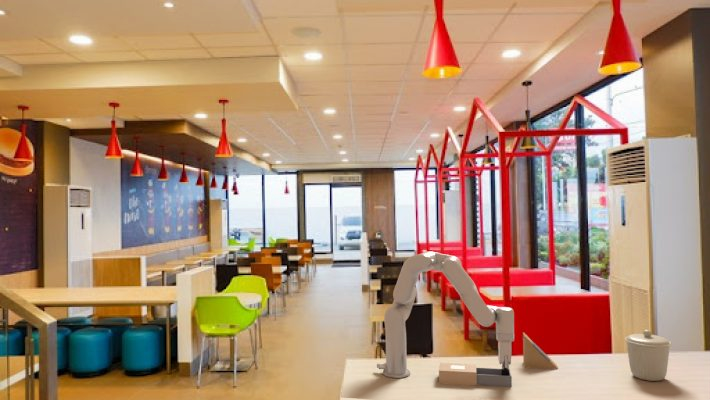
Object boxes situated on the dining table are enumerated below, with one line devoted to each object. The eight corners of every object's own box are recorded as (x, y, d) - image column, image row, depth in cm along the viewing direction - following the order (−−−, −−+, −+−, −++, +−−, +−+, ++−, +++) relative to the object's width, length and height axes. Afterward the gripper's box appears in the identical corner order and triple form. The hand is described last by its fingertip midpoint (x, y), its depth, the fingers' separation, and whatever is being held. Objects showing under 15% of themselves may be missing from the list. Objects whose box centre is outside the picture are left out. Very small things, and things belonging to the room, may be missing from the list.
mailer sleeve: (439, 384, 224) (438, 370, 224) (440, 375, 235) (440, 362, 235) (476, 386, 221) (476, 372, 221) (476, 377, 232) (475, 364, 232)
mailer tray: (475, 384, 222) (475, 374, 222) (474, 377, 231) (474, 367, 231) (511, 386, 219) (511, 376, 219) (509, 379, 228) (509, 369, 228)
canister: (669, 373, 234) (668, 327, 234) (674, 386, 217) (674, 336, 217) (624, 368, 241) (623, 323, 241) (626, 381, 225) (625, 332, 225)
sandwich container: (559, 369, 242) (558, 337, 242) (525, 367, 245) (524, 336, 245) (556, 364, 250) (555, 333, 250) (523, 362, 254) (522, 331, 254)
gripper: (495, 331, 232) (495, 372, 232) (497, 340, 217) (497, 383, 217) (512, 332, 230) (512, 373, 230) (515, 341, 216) (516, 385, 216)
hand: (505, 378), depth 224 cm, fingers closed
